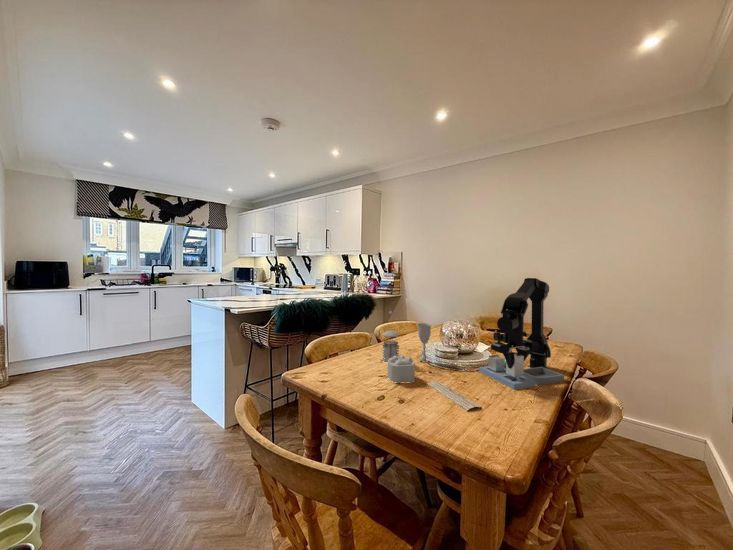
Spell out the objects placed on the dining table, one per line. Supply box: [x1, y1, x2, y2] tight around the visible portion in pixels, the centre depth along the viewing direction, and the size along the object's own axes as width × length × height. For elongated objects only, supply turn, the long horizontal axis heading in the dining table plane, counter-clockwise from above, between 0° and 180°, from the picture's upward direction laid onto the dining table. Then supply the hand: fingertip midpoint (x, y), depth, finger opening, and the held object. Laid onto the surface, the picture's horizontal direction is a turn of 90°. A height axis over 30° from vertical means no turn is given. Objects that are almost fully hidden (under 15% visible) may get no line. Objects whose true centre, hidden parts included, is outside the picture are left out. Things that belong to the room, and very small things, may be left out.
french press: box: [382, 310, 400, 362], centre depth 146 cm, size 10×12×25 cm
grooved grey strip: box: [427, 380, 483, 412], centre depth 110 cm, size 24×7×2 cm, turn 21°
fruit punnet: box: [387, 354, 416, 383], centre depth 127 cm, size 10×13×9 cm
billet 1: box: [488, 354, 505, 373], centre depth 130 cm, size 4×4×8 cm
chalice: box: [417, 322, 432, 361], centre depth 149 cm, size 7×7×18 cm
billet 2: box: [506, 351, 525, 377], centre depth 120 cm, size 4×4×8 cm
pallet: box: [478, 365, 536, 390], centre depth 125 cm, size 10×20×2 cm, turn 17°
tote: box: [524, 367, 565, 386], centre depth 125 cm, size 14×11×3 cm
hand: (514, 367), depth 120 cm, fingers closed on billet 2, 4 cm apart
